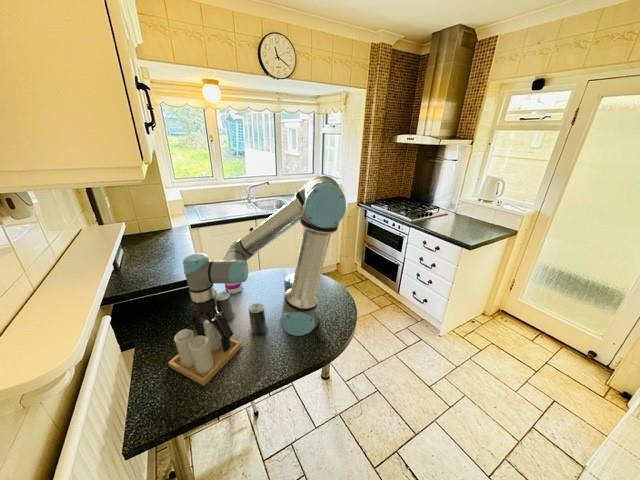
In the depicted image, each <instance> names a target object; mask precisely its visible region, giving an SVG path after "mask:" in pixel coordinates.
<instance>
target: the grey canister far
mask: <svg viewBox="0 0 640 480" xmlns="http://www.w3.org/2000/svg"><path fill="white" fill-rule="evenodd" d="M216 300H217V304H216V310H217V312H219V313H220V312H223V313H224V316H225V319H226V321H227V322H228V323H229V322H232V321H233V320H234V312H233V311H234V310H233V306H232V300H231V294H230V293H228V292H226V291H222V292H217V295H216Z"/></svg>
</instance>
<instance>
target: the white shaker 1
mask: <svg viewBox="0 0 640 480" xmlns="http://www.w3.org/2000/svg"><path fill="white" fill-rule="evenodd" d="M195 337H196V336H195V333H194V331H193V330H192V329H189V328H184V329H181V330H179V331H178V332H177V333H176V334H175V335H174V338H173V340H174V344H175V347H176V350H177V353H178V354H179V357H180V360H181V363H182V366H183V367H184V368H191V367H193V366H194V364H193V360H192V357H191V353H190V350H189V343H190V342H191V340H192V339H193V338H195ZM178 354H177V355H178Z"/></svg>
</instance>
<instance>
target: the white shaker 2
mask: <svg viewBox="0 0 640 480" xmlns="http://www.w3.org/2000/svg"><path fill="white" fill-rule="evenodd" d="M189 350H190V353H191V357H192V360H193V364H194V367H195V371H196V374H197V375H199V376H204V375H207V374H208V373H209V372H210V371H211V370H212V369H213V368H214V362H213V358H212V353H211V349H210V345H209V341H208V338H207V337H205V336H198V335H196V336H195V338H193V339H192V340H191V342H190V343H189Z"/></svg>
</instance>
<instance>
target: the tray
mask: <svg viewBox="0 0 640 480" xmlns="http://www.w3.org/2000/svg"><path fill="white" fill-rule="evenodd" d="M204 331H205V335H206V330H204ZM219 335H220V334H219ZM205 337H206V336H205ZM220 337H221V335H220ZM221 338H222V337H221ZM241 348H242V342H240V341H238V340H236V339H233V338H232V337H230V348H229V349H228V350H227V351H226V352H224V351H223V347H222V346H221V348H220V349H219V351H217V352H214V353H213V352H211V353H212V358H213V362H214V368H213V369H212V370H211V371H210V372H209V373H208V374H207V375H204V376H199V375H197V374H196V371H195V367H194V366H193V367H191V368H184V367H183V366H182V363H181V360H180V357H179V354H177V355H174V357H172V359H170V360H169V361H167V364H168V366H169V368H171V369H172V370H174V371H176V372H178V373H180V374H182V375H183V376H184V377H187V378H189V379H191V380H192V381H194V382H195V383H198V384H200V385H201V386H203V387H205V386H206V385H207V384H208V383H209V382H210V381H211V380H212V378H213V377H215V375H216V374H218V372H219V371H220V370H221V369H222V368H223V367H224V366H225V365H226V364H227V363H228V362H229V360H231V359H232V358H233V357H234V355H236V354H237V352H238V351H240V349H241Z"/></svg>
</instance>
